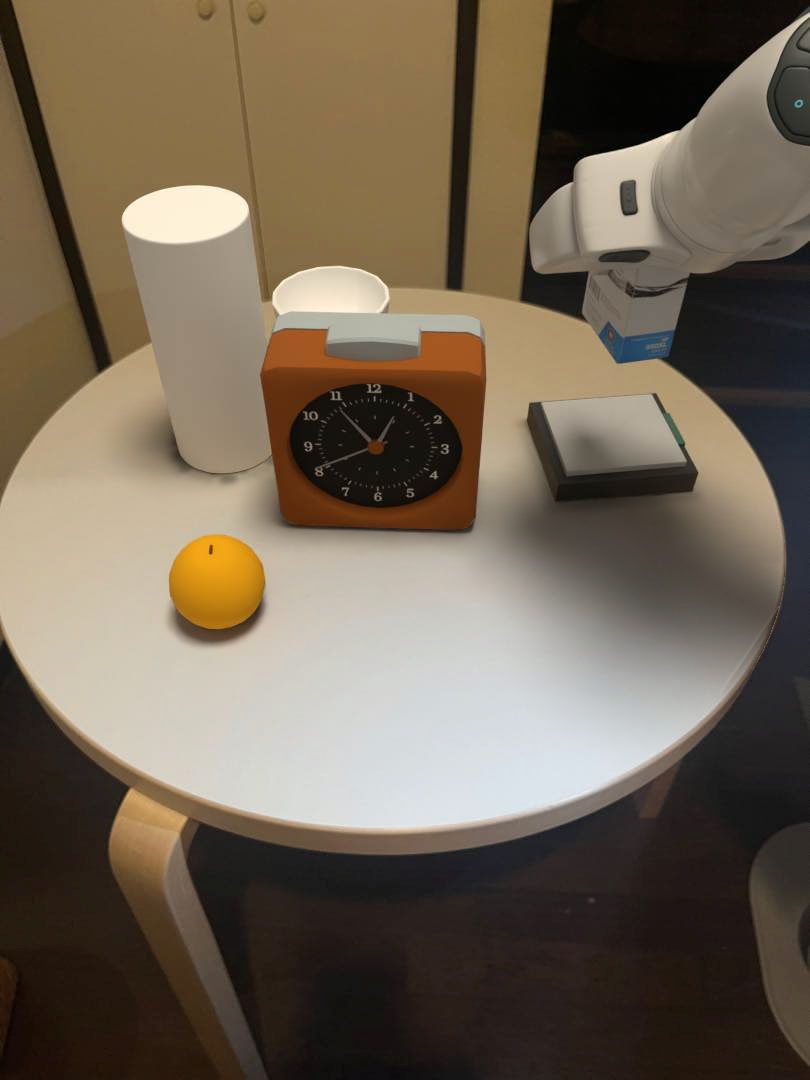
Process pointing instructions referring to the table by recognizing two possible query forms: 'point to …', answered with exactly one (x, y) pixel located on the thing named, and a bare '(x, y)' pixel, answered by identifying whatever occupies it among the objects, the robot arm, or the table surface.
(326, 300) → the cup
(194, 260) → the tall pillar cylinder
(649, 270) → the ink box
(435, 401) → the alarm clock
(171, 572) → the orange fruit with stem
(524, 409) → the table surface
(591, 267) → the robot arm
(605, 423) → the scale
